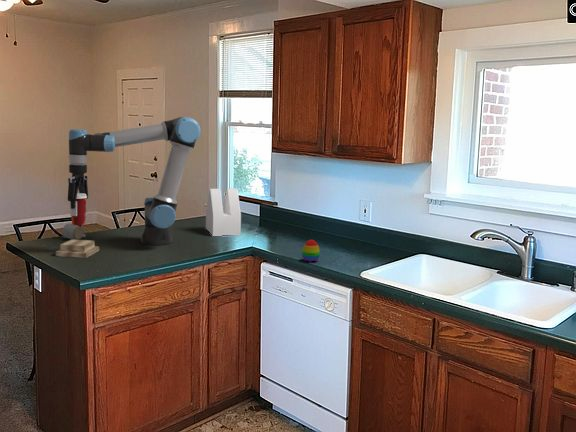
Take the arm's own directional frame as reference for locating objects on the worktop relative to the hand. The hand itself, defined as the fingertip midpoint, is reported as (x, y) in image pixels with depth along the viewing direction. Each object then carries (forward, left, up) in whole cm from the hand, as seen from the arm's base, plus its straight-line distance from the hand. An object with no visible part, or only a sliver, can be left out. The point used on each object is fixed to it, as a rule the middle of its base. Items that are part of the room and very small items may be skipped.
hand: (78, 214), depth 255 cm
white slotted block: (-55, -61, -18) cm, 84 cm away
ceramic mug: (+14, -26, -18) cm, 35 cm away
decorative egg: (-106, -9, -18) cm, 108 cm away
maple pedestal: (0, +2, -18) cm, 18 cm away
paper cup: (0, 0, -5) cm, 5 cm away
